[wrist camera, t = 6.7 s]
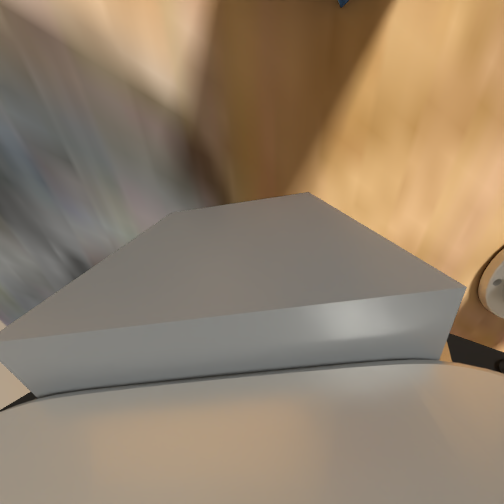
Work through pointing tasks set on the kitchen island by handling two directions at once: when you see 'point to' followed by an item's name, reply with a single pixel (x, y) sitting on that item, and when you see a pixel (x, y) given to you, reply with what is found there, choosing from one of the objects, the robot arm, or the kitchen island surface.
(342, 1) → the milk carton
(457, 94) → the kitchen island surface
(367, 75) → the kitchen island surface
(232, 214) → the gray cube
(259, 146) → the kitchen island surface
